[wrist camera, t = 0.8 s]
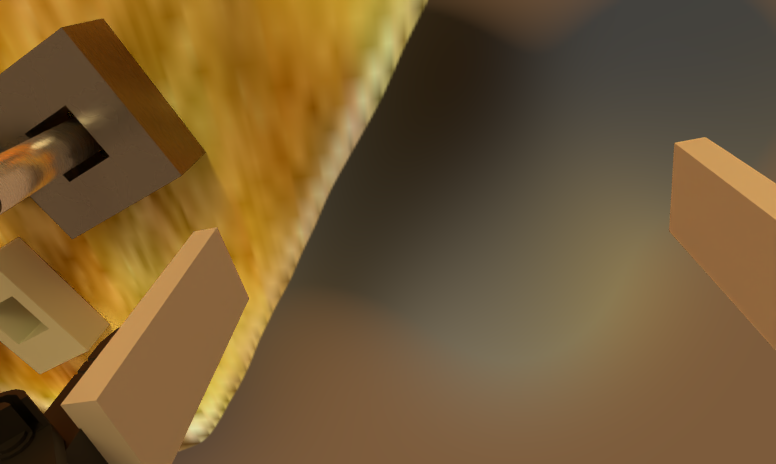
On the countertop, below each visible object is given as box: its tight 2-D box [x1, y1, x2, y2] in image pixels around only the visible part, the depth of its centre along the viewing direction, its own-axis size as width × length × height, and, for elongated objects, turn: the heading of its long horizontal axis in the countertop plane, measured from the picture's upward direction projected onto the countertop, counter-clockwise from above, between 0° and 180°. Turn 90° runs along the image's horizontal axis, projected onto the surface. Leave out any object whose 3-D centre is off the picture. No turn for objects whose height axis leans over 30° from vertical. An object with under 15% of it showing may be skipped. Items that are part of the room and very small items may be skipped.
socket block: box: [0, 19, 206, 239], centre depth 39 cm, size 12×12×5 cm
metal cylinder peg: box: [0, 117, 103, 214], centre depth 34 cm, size 3×3×16 cm
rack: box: [0, 237, 110, 374], centre depth 49 cm, size 12×7×4 cm, turn 29°
